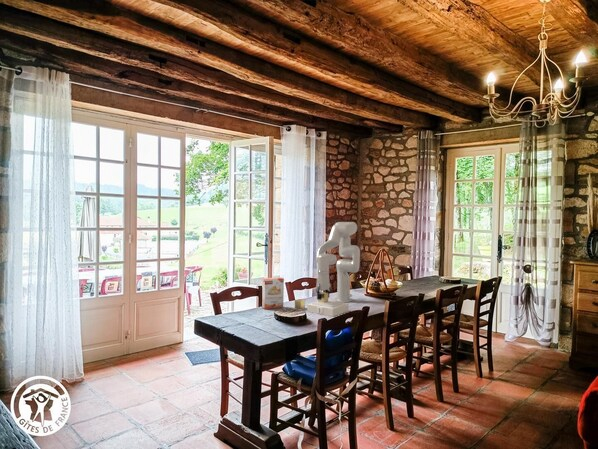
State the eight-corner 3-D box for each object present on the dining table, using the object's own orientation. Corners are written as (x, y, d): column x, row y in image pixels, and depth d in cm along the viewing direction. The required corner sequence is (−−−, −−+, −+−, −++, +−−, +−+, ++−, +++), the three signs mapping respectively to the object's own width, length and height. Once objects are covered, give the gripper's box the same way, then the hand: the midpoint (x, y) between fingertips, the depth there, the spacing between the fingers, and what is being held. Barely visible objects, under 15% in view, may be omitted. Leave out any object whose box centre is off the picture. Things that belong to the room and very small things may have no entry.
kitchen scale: (323, 306, 290) (323, 298, 290) (348, 310, 278) (348, 302, 278) (306, 312, 273) (306, 303, 273) (332, 316, 261) (332, 307, 261)
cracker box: (264, 309, 280) (264, 279, 280) (262, 307, 286) (262, 277, 285) (283, 308, 285) (284, 278, 285) (281, 306, 291) (281, 276, 290)
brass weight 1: (299, 307, 287) (299, 299, 287) (304, 308, 284) (305, 299, 284) (294, 308, 283) (294, 300, 283) (300, 309, 280) (300, 301, 280)
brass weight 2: (322, 300, 282) (322, 292, 282) (328, 301, 279) (328, 292, 279) (318, 301, 278) (318, 293, 278) (324, 302, 275) (324, 293, 275)
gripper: (325, 271, 287) (325, 295, 287) (311, 274, 273) (311, 299, 273) (334, 272, 282) (334, 297, 283) (320, 275, 269) (320, 301, 269)
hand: (323, 298), depth 278 cm, fingers open, 9 cm apart
